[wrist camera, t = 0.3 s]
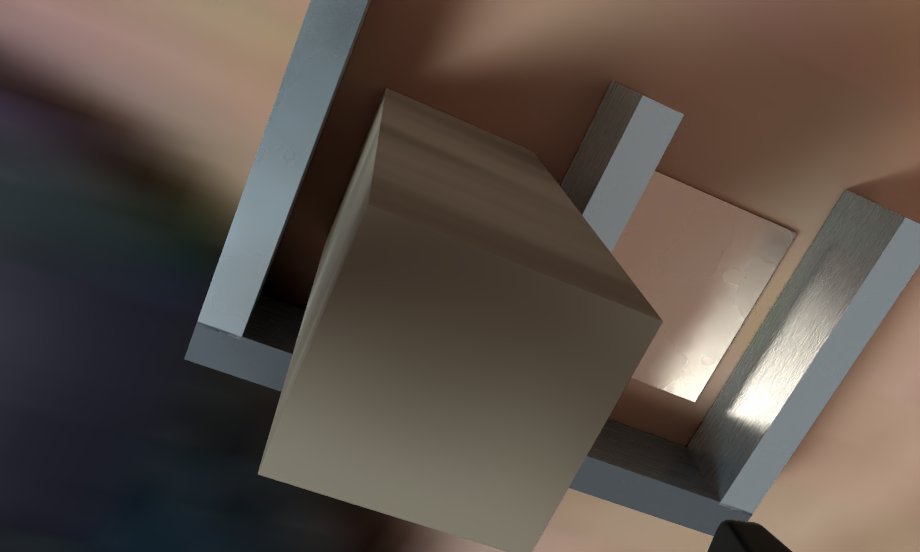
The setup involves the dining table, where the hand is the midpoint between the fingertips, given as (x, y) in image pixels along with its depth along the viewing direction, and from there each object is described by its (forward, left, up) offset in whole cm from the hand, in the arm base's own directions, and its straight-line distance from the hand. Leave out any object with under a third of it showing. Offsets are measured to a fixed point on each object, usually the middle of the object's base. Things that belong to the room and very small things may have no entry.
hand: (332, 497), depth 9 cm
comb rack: (-1, -6, -15) cm, 16 cm away
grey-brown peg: (0, -2, -15) cm, 15 cm away
